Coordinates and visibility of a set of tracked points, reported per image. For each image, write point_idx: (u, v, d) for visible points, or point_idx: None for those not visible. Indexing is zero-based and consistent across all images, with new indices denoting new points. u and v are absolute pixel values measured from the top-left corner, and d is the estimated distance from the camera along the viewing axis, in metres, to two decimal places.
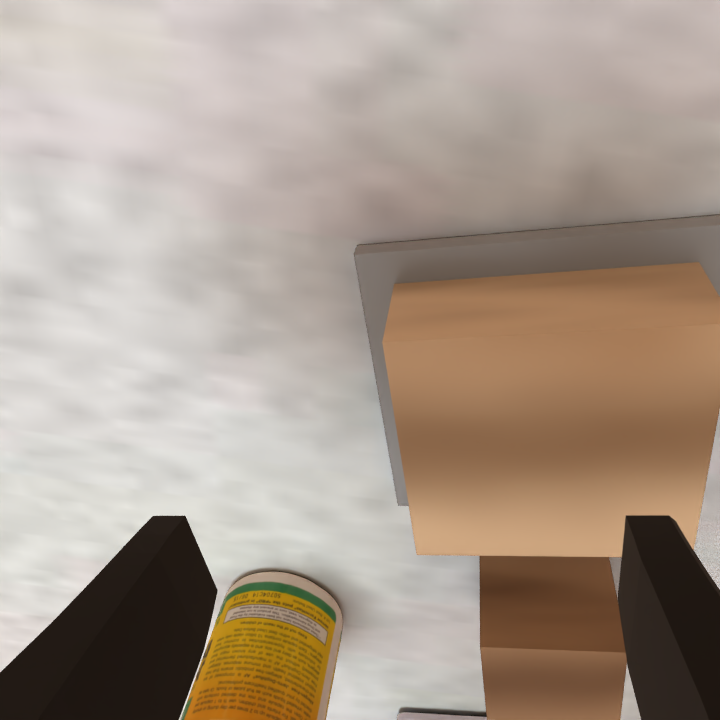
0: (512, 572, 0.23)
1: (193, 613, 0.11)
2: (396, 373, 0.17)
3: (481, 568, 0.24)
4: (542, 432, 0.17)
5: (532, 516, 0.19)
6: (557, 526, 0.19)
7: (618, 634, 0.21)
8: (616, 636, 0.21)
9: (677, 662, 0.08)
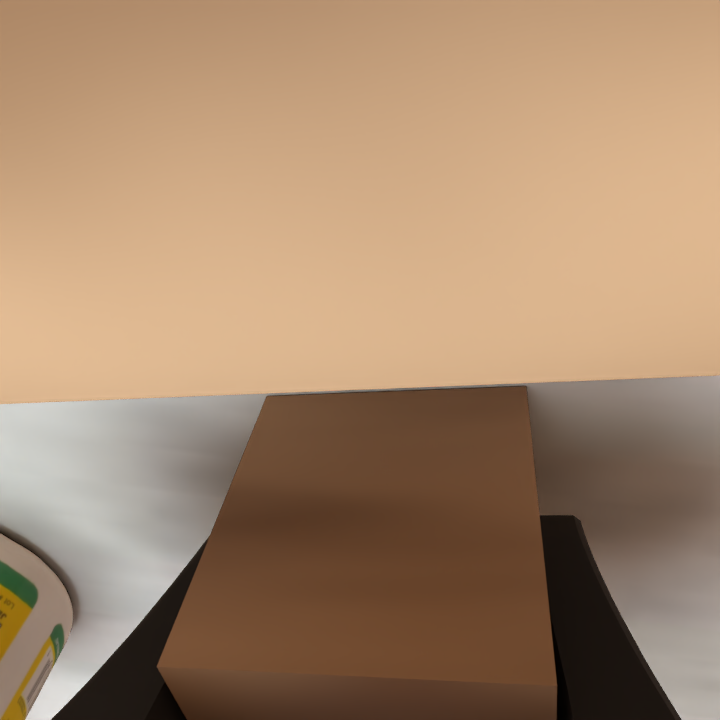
0: (302, 484, 0.10)
1: None
2: None
3: (237, 478, 0.10)
4: None
5: (231, 237, 0.06)
6: (318, 272, 0.06)
7: (535, 631, 0.07)
8: (529, 637, 0.07)
9: (557, 657, 0.08)
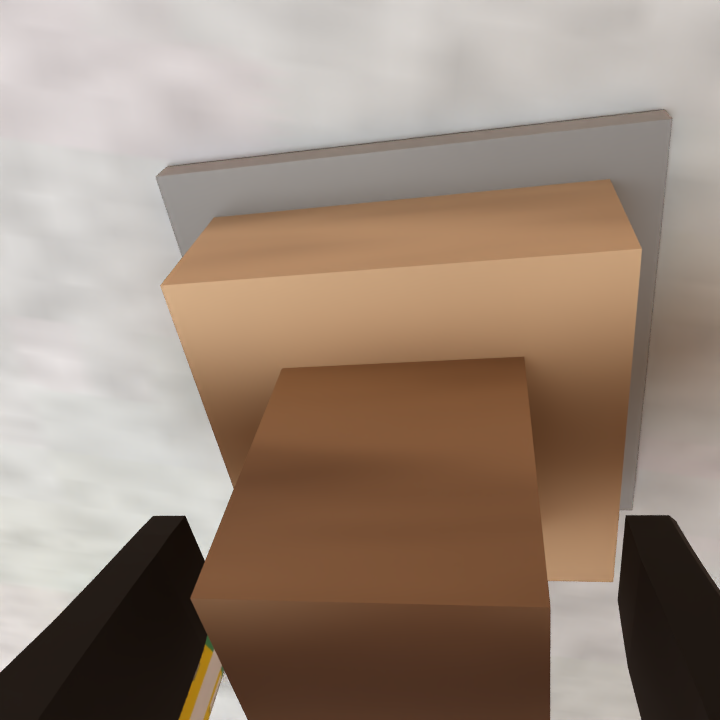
0: (318, 443, 0.11)
1: (193, 613, 0.11)
2: (188, 331, 0.12)
3: (257, 439, 0.11)
4: None
5: None
6: None
7: (531, 563, 0.08)
8: (525, 568, 0.08)
9: (677, 662, 0.08)
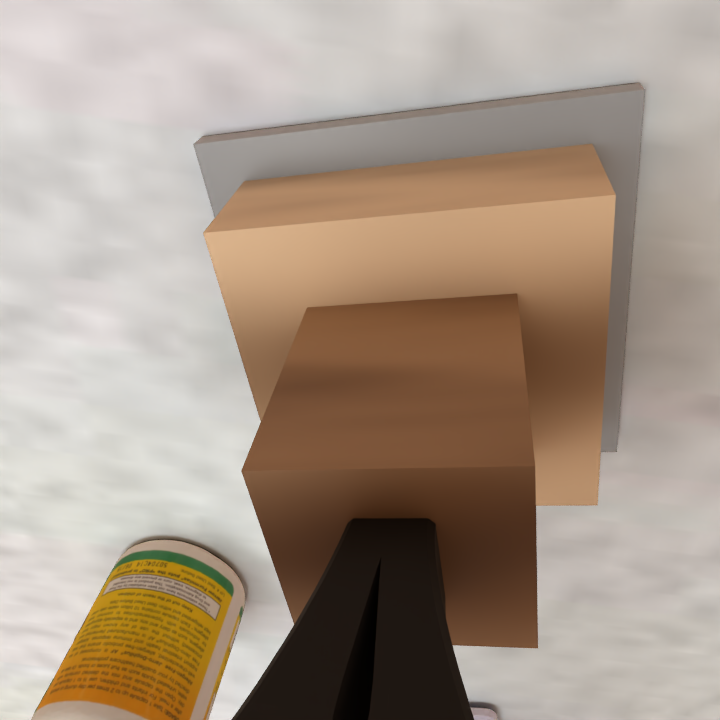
0: (342, 361, 0.12)
1: None
2: (226, 274, 0.14)
3: (289, 359, 0.13)
4: None
5: None
6: None
7: (520, 438, 0.10)
8: (515, 441, 0.10)
9: None
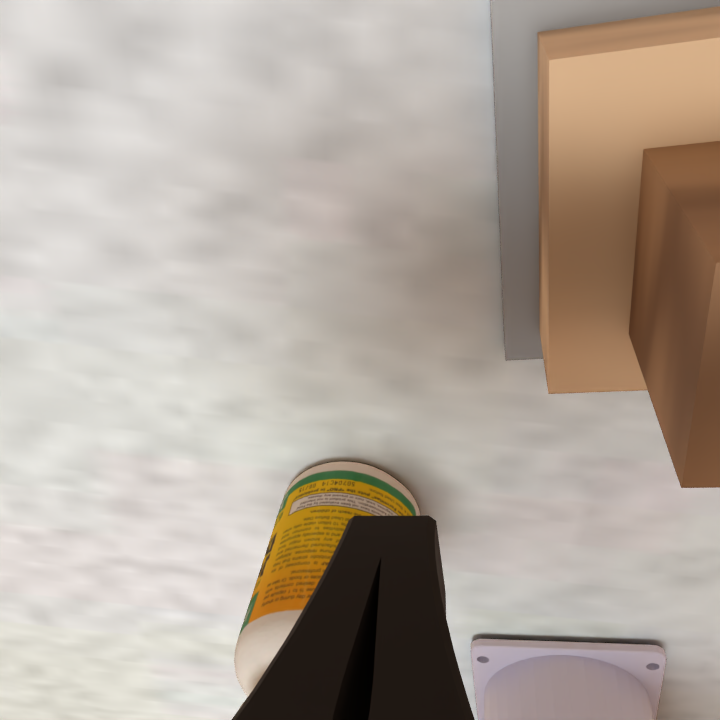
0: None
1: None
2: (561, 111, 0.13)
3: (670, 184, 0.12)
4: None
5: None
6: None
7: None
8: None
9: None
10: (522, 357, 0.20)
